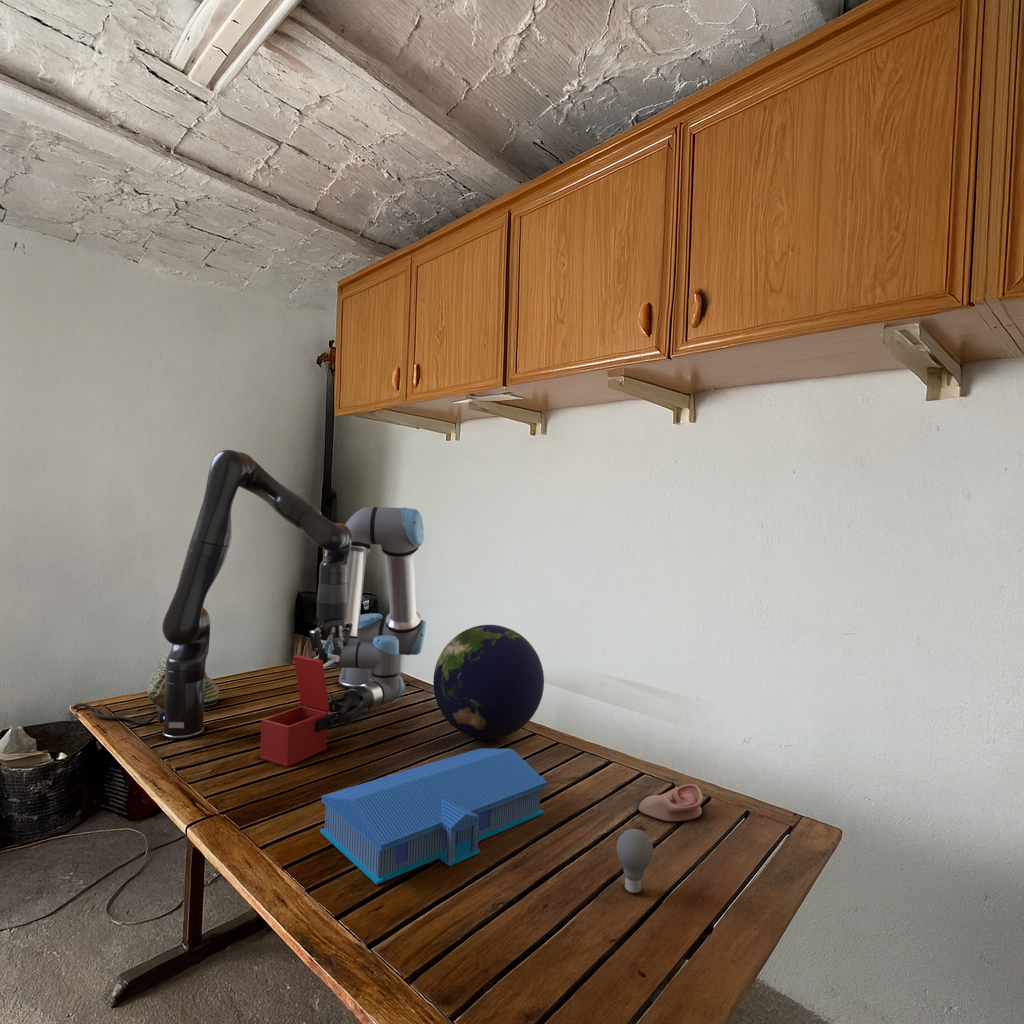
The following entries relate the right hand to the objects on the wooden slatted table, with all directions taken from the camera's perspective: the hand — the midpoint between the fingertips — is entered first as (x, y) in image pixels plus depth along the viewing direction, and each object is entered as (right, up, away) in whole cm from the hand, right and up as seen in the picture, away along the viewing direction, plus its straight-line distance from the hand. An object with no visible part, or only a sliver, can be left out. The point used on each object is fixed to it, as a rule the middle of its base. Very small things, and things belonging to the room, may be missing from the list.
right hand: (301, 722), depth 157 cm
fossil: (-44, -5, +28) cm, 52 cm away
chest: (-1, -7, -2) cm, 7 cm away
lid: (+1, +9, +2) cm, 9 cm away
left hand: (+5, +12, +8) cm, 15 cm away
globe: (+45, -9, +15) cm, 48 cm away
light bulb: (+72, -11, -51) cm, 89 cm away
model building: (+38, -9, -33) cm, 51 cm away
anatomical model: (+86, -11, -22) cm, 89 cm away
